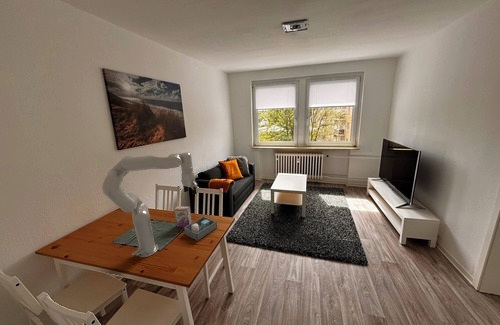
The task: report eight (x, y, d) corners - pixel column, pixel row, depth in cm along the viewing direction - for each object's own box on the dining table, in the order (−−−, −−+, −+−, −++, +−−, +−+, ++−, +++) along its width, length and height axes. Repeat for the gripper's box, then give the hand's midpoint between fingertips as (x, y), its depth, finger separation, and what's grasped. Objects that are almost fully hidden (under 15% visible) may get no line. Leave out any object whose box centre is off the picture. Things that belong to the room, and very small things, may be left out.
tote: (197, 241, 142) (196, 234, 141) (184, 234, 151) (183, 227, 150) (217, 228, 157) (216, 221, 156) (204, 222, 166) (203, 216, 165)
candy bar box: (176, 227, 162) (173, 209, 157) (179, 223, 166) (176, 206, 162) (189, 227, 160) (187, 209, 156) (192, 223, 165) (189, 206, 161)
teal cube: (205, 229, 154) (205, 224, 153) (201, 227, 157) (200, 222, 156) (210, 226, 158) (209, 221, 157) (206, 224, 161) (205, 219, 160)
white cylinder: (195, 236, 147) (194, 228, 145) (191, 234, 150) (190, 225, 148) (200, 232, 151) (199, 224, 149) (196, 230, 154) (195, 222, 152)
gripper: (175, 170, 140) (178, 192, 144) (190, 173, 129) (193, 197, 134) (184, 167, 145) (187, 188, 150) (199, 170, 135) (202, 193, 139)
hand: (190, 192), depth 142 cm, fingers open, 9 cm apart
